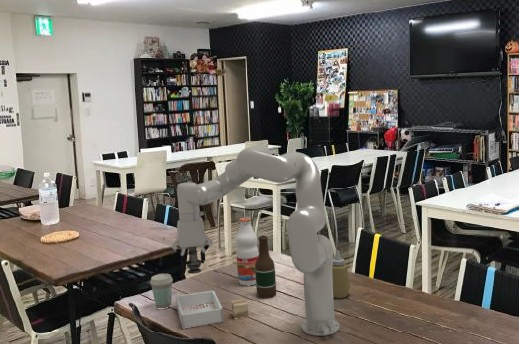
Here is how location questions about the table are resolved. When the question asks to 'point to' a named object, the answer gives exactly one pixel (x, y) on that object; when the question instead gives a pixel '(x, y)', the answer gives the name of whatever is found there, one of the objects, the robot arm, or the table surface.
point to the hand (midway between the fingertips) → (193, 263)
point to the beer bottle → (265, 271)
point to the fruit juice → (246, 252)
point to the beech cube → (239, 308)
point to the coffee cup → (162, 290)
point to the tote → (199, 315)
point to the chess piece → (193, 261)
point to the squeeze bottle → (340, 277)
